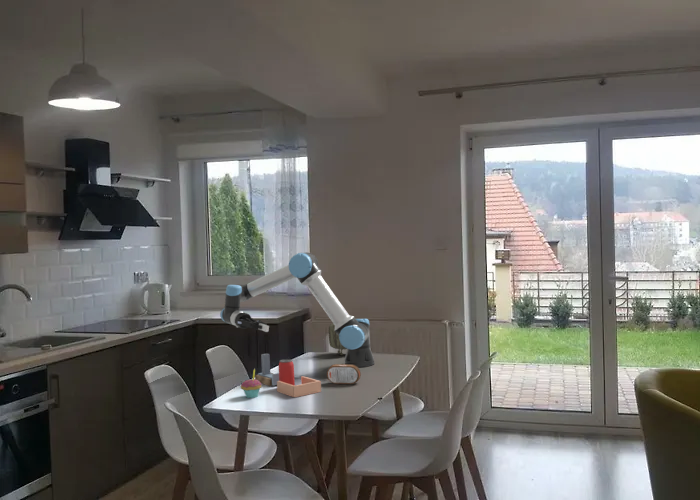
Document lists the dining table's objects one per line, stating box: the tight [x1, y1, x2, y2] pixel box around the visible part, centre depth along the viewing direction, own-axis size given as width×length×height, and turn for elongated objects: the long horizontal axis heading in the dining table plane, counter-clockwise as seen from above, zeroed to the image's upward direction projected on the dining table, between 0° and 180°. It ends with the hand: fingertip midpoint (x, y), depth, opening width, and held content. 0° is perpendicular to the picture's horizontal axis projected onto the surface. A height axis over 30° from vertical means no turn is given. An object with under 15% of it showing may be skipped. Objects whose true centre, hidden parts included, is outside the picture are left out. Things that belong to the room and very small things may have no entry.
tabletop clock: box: [328, 323, 347, 356], centre depth 349 cm, size 14×9×25 cm, turn 52°
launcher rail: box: [254, 372, 275, 387], centre depth 288 cm, size 14×7×3 cm, turn 36°
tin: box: [326, 363, 362, 385], centre depth 279 cm, size 15×3×8 cm, turn 74°
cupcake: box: [240, 367, 263, 399], centre depth 263 cm, size 9×8×12 cm
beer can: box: [278, 358, 296, 386], centre depth 276 cm, size 7×7×12 cm
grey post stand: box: [257, 353, 279, 386], centre depth 287 cm, size 16×6×12 cm, turn 36°
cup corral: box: [276, 375, 322, 398], centre depth 268 cm, size 14×13×4 cm
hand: (267, 328), depth 293 cm, fingers closed
